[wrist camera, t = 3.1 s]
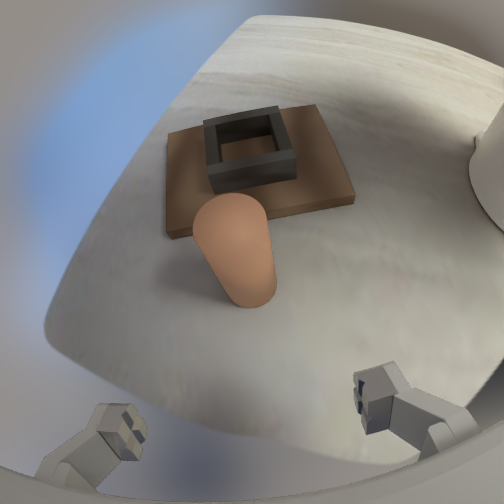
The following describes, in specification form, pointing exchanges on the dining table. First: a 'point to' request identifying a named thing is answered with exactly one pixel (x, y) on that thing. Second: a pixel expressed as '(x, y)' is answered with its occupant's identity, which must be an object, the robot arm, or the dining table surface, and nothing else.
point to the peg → (238, 247)
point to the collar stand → (255, 165)
